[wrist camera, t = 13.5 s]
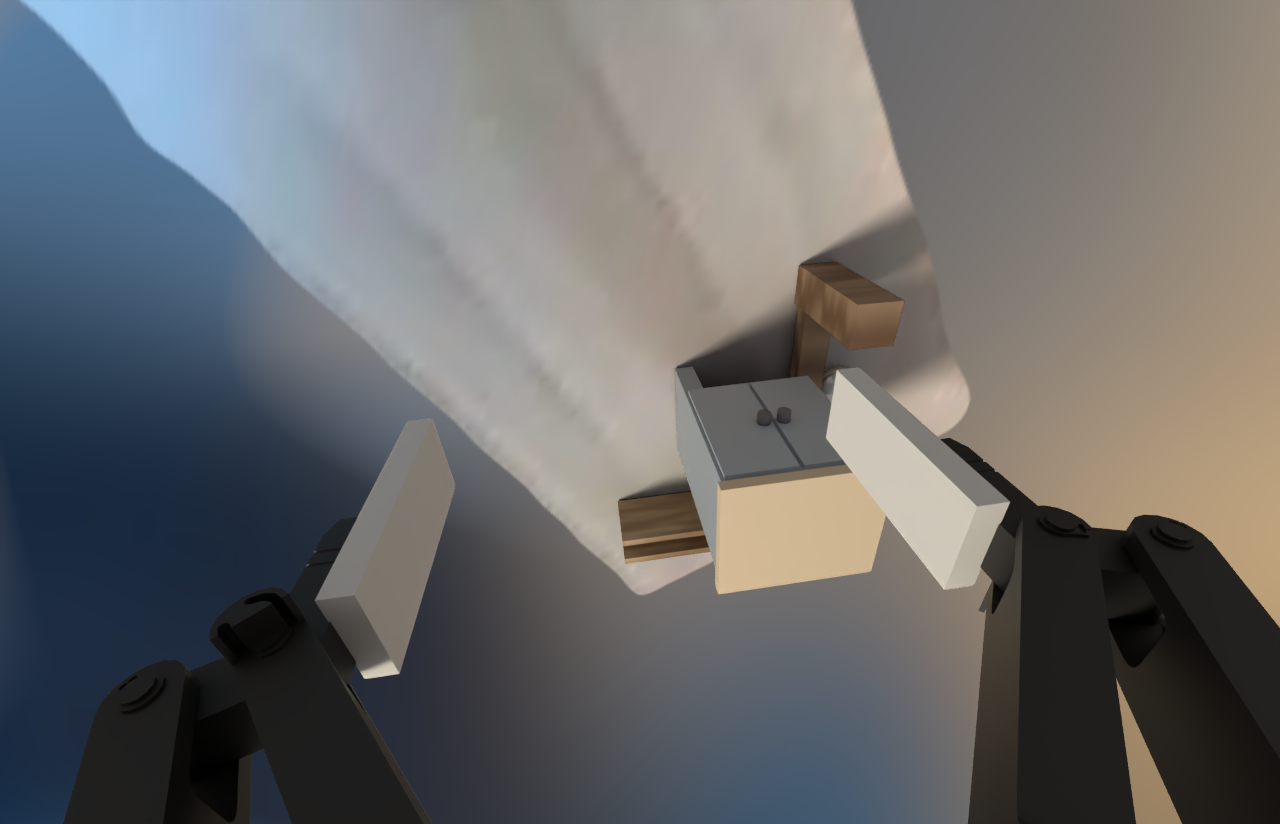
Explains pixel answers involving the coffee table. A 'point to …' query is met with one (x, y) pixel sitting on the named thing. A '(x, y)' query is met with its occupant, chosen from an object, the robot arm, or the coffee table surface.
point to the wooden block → (839, 316)
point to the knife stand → (661, 527)
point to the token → (830, 380)
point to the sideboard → (772, 483)
